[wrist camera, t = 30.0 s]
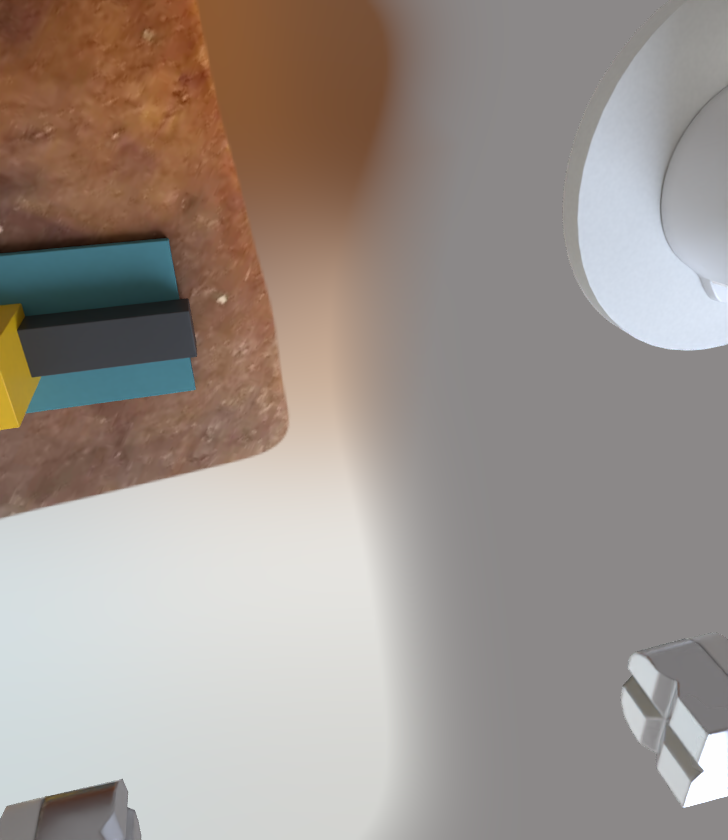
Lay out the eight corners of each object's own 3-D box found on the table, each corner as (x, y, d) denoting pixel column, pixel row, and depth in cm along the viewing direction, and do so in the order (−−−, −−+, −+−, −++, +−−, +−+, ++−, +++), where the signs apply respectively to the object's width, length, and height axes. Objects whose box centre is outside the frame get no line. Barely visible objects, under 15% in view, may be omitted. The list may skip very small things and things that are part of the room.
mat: (168, 237, 39) (168, 239, 39) (195, 386, 44) (195, 390, 44) (-89, 261, 37) (-93, 264, 36) (-30, 417, 42) (-32, 421, 41)
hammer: (186, 285, 40) (187, 324, 34) (198, 354, 43) (201, 401, 37) (-111, 317, 37) (-166, 366, 31) (-81, 389, 39) (-127, 448, 33)
